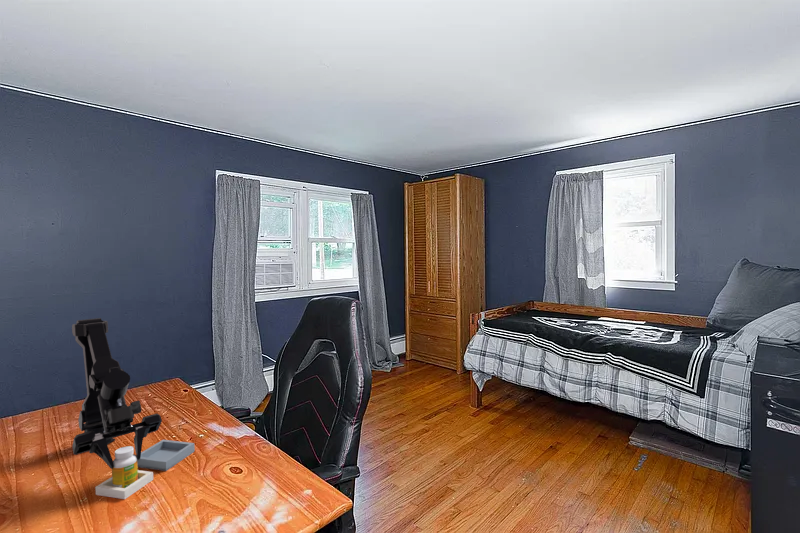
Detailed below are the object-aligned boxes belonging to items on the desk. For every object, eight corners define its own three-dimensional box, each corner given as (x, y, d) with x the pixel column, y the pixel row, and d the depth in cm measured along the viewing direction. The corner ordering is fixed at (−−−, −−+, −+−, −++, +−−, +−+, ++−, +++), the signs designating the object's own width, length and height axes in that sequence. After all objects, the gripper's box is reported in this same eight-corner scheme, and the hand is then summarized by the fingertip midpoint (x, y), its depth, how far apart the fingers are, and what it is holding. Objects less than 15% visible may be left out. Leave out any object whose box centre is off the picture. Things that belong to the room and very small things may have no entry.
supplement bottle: (125, 494, 100) (124, 456, 100) (107, 491, 102) (105, 453, 101) (143, 482, 106) (142, 445, 105) (125, 479, 107) (124, 443, 106)
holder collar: (95, 494, 100) (95, 486, 100) (126, 475, 109) (125, 468, 109) (124, 499, 99) (124, 491, 98) (153, 479, 107) (153, 472, 107)
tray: (132, 466, 113) (132, 457, 113) (163, 447, 124) (163, 439, 124) (166, 471, 111) (166, 462, 111) (194, 451, 122) (194, 443, 122)
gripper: (72, 403, 98) (83, 464, 91) (158, 384, 112) (173, 436, 105) (68, 425, 104) (78, 484, 97) (150, 404, 118) (164, 455, 111)
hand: (126, 463), depth 102 cm, fingers closed on supplement bottle, 5 cm apart
